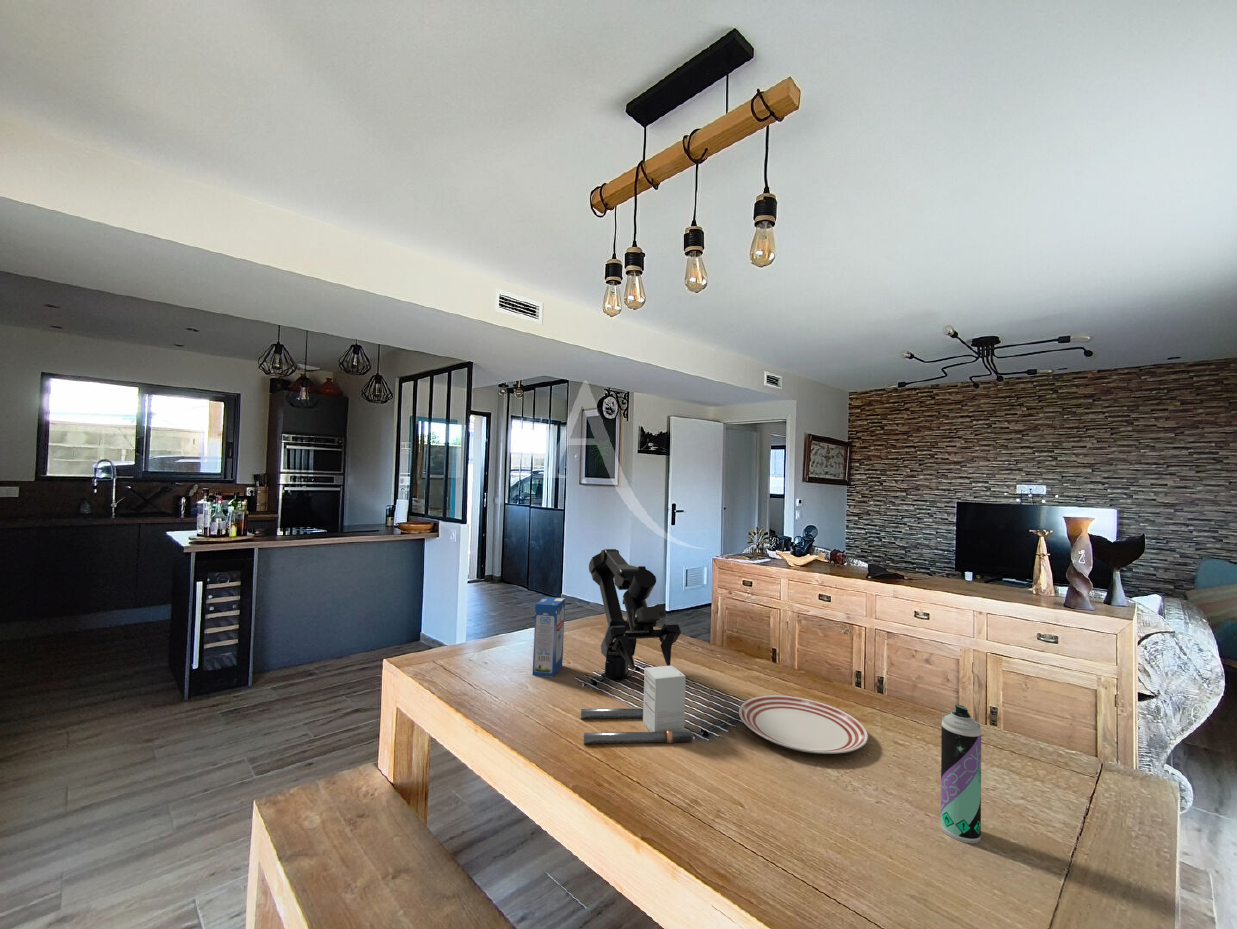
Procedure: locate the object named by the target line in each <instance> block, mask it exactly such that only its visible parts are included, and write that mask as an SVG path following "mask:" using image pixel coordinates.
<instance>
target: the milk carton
mask: <svg viewBox="0 0 1237 929" xmlns="http://www.w3.org/2000/svg"><path fill="white" fill-rule="evenodd" d="M565 609H566V597H551V596H544V597H543V598H542V599H540V600H539V601H537V602H536V603H535V609H534V610H535V611H534V629H533V630H534V633H533V634H534V635H533V651H532V652H533V654H532V655H533V656H532V658H533V659H532V676H539V677H550V678H555V676H556V675H557V674H558V672H559V671H560V669H561V668H562V667H563V660H564V658H563V657H564V634H565V614H566V613H565V612H566V610H565ZM561 666H562V667H561ZM556 673H557V674H556Z"/></svg>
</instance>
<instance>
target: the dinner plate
mask: <svg viewBox="0 0 1237 929" xmlns="http://www.w3.org/2000/svg"><path fill="white" fill-rule="evenodd" d="M738 709H739V710H738V715H739V718H740V720H741V722H742V723H744V725H745V726H746V727H747V728H748V729H750V730H751V731H752V732H754V733H755V734H757V735H758V736H759V737H762V738H763V739H765V740H766V741H769V742H771V743H774V744H775V745H778V746H781V747H784V748H786V749H790V750H793V751H797V752H803V753H809V754H822V755H823V754H824V755H825V754H826V755H828V754H830V755H831V754H844V753H850V752H854V751H857V750H860V749H861V748H862V747H863V746H865V745H866V744H867V742H868V739H869V734H868V732H867V730H866V728H865V727H864V725H863V724H862V723H861V722H860V721H858V720H857V719H856V718H854V717H853V716H851V714H849V713H846V712H845V711H843V710H841V709H839V708H836V707H834V706H831V705H828V704H826V703H822V702H820V701H816V700H812V699H808V698H803V697H797V696H791V695H790V696H789V695H779V694H778V695H775V694H772V695H771V694H770V695H759V696H756V697H753V698H750V699H748V700H746V701H744V702H743V703H742V704H741V705H740V707H739V708H738Z"/></svg>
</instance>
